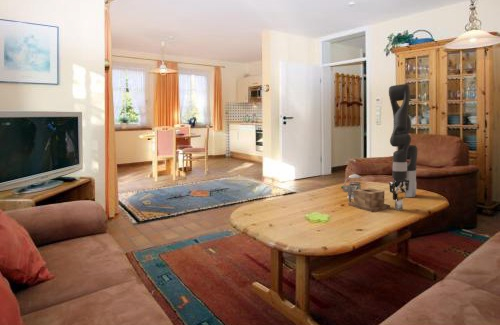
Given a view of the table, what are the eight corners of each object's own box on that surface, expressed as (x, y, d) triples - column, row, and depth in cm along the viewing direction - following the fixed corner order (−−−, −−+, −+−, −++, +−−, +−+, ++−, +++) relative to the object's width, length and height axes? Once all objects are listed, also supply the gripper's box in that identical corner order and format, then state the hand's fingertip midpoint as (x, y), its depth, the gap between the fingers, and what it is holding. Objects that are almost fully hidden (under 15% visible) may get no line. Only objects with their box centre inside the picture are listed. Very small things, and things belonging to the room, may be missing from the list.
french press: (360, 199, 221) (360, 160, 218) (342, 197, 227) (342, 160, 224) (364, 196, 230) (364, 158, 226) (346, 194, 236) (346, 158, 232)
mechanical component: (358, 202, 215) (358, 186, 214) (341, 201, 217) (341, 186, 216) (358, 201, 218) (358, 185, 217) (341, 200, 220) (341, 185, 219)
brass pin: (397, 207, 201) (398, 190, 199) (406, 209, 195) (407, 192, 194) (390, 209, 198) (391, 191, 196) (399, 211, 193) (400, 193, 191)
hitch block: (366, 201, 216) (366, 186, 215) (390, 207, 200) (390, 191, 199) (348, 205, 209) (348, 189, 208) (371, 211, 193) (371, 195, 192)
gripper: (402, 167, 200) (401, 196, 202) (385, 170, 193) (384, 199, 196) (414, 169, 194) (413, 198, 196) (396, 171, 187) (395, 202, 189)
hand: (399, 198), depth 196 cm, fingers closed on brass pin, 6 cm apart
